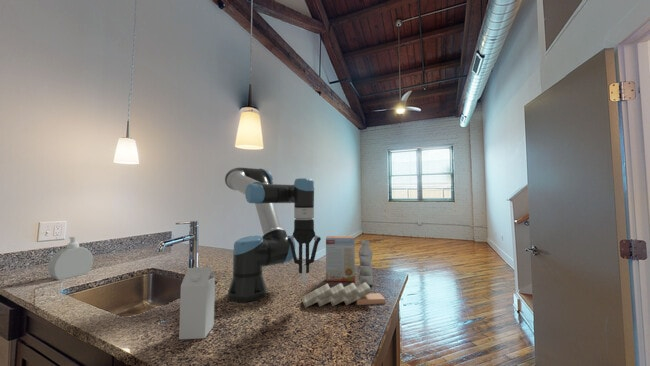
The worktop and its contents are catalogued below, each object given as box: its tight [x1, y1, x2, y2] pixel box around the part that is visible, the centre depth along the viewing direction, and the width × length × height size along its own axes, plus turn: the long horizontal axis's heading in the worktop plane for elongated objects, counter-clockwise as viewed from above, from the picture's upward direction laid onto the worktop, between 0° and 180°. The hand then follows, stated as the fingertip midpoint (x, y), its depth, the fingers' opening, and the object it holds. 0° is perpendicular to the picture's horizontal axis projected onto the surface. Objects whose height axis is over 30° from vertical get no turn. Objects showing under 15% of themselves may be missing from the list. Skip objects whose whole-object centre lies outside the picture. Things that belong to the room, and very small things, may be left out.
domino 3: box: [330, 282, 359, 307], centre depth 96 cm, size 2×6×11 cm
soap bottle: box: [47, 236, 94, 281], centre depth 129 cm, size 16×5×20 cm, turn 161°
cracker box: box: [325, 235, 356, 283], centre depth 123 cm, size 14×6×21 cm, turn 84°
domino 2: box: [317, 282, 346, 308], centre depth 95 cm, size 2×6×11 cm
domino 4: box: [343, 282, 373, 306], centre depth 97 cm, size 2×6×11 cm
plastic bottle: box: [358, 239, 374, 287], centre depth 115 cm, size 6×7×20 cm
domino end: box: [354, 292, 386, 306], centre depth 97 cm, size 2×6×11 cm
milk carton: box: [178, 267, 216, 340], centre depth 75 cm, size 7×7×19 cm
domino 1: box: [302, 283, 333, 309], centre depth 95 cm, size 2×6×11 cm
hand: (303, 281), depth 94 cm, fingers closed
